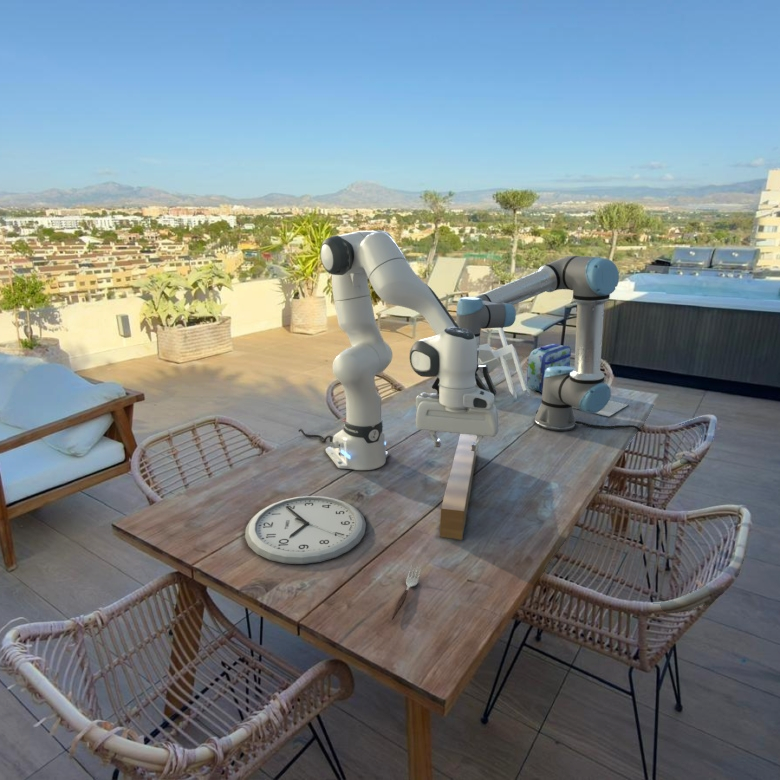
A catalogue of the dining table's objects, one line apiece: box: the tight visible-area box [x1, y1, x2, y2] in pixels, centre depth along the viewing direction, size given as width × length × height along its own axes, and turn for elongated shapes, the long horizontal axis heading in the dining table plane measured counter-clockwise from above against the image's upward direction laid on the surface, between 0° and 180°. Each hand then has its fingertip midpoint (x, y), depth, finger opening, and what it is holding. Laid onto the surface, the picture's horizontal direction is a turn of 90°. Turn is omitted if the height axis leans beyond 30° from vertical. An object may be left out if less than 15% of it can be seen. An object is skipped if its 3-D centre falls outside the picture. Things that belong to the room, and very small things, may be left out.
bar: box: [439, 434, 478, 541], centre depth 151 cm, size 51×6×8 cm, turn 167°
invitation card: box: [573, 399, 629, 418], centre depth 226 cm, size 21×1×15 cm
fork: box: [391, 565, 422, 620], centre depth 108 cm, size 3×16×2 cm, turn 160°
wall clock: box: [244, 495, 367, 565], centre depth 132 cm, size 30×2×30 cm
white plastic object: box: [476, 328, 531, 400], centre depth 245 cm, size 37×45×31 cm
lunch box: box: [526, 343, 572, 394], centre depth 248 cm, size 26×11×21 cm, turn 135°
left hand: (455, 448), depth 130 cm, fingers open, 8 cm apart
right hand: (462, 413), depth 168 cm, fingers open, 13 cm apart
